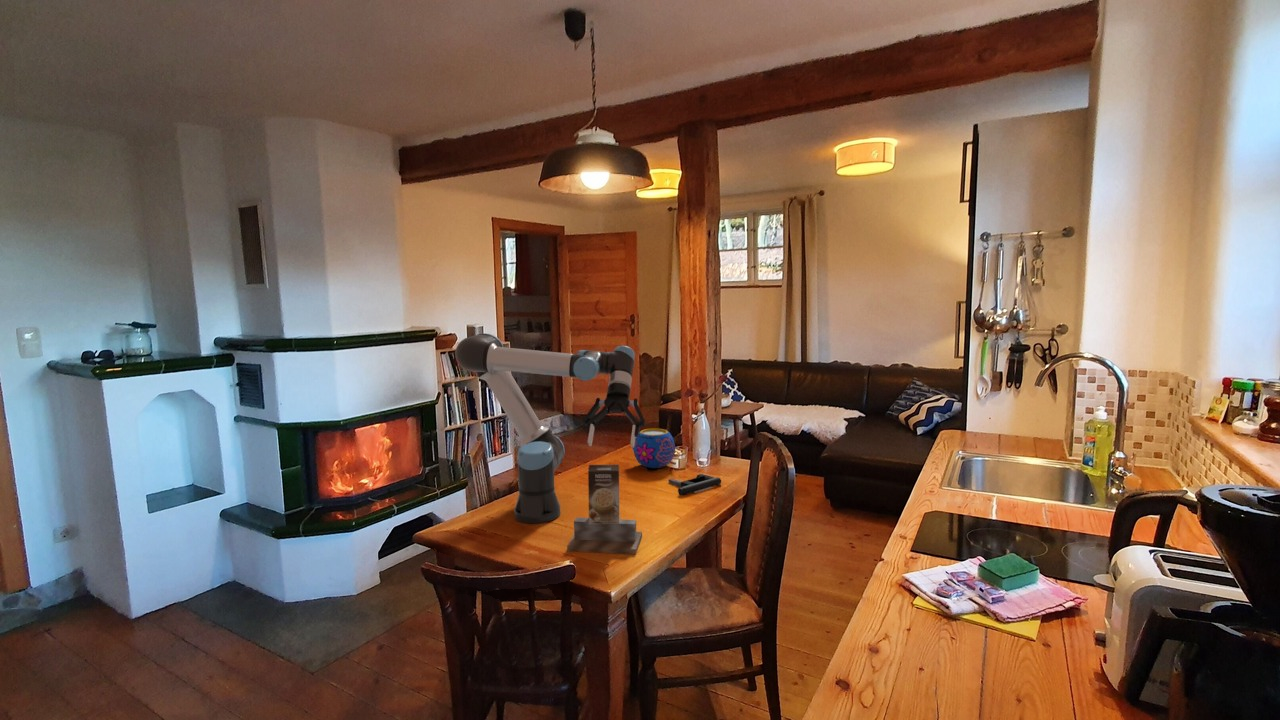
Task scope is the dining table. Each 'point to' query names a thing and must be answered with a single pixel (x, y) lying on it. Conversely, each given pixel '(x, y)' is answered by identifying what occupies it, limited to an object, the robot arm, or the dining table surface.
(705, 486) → the door handle
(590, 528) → the ridge stand
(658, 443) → the ceramic pot
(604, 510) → the coffee box
